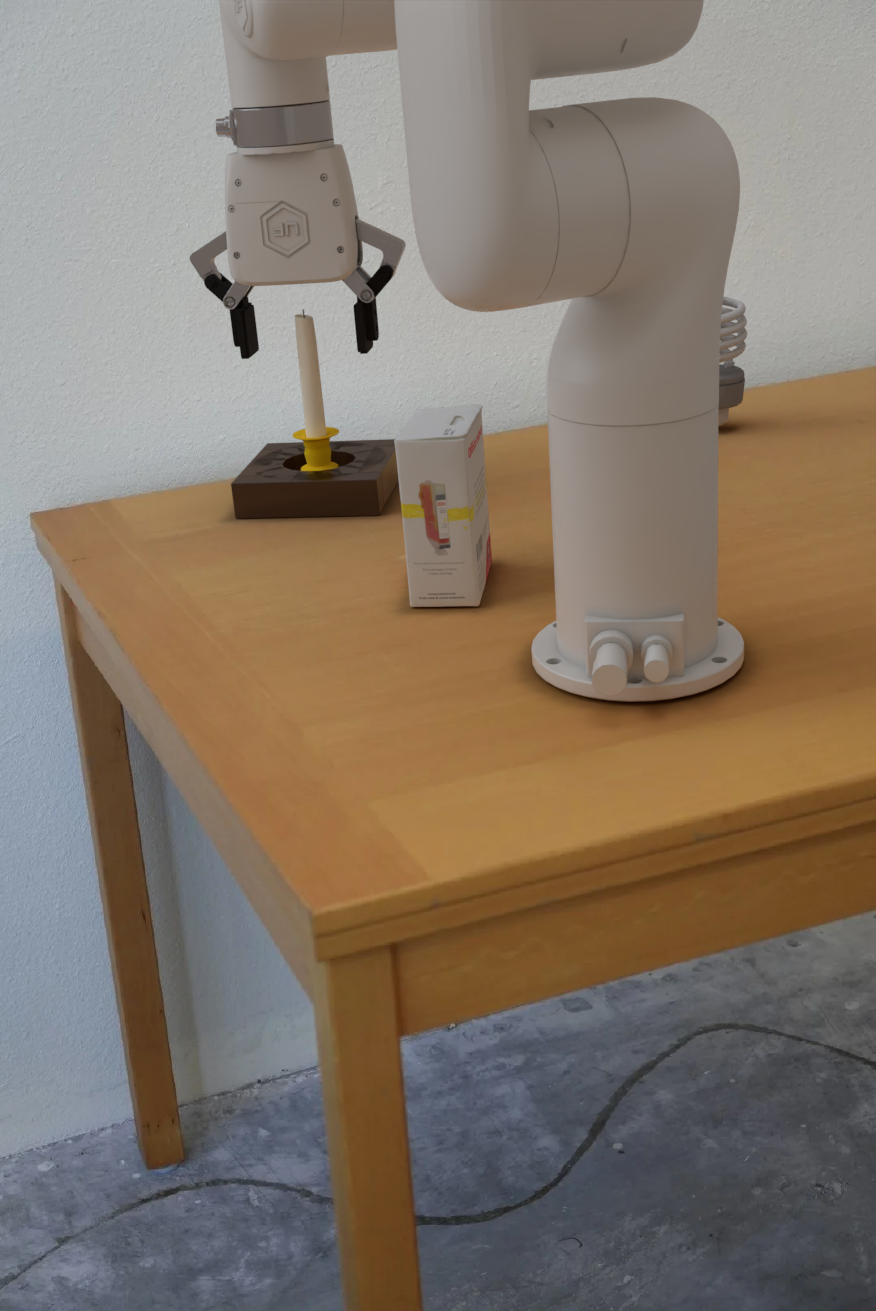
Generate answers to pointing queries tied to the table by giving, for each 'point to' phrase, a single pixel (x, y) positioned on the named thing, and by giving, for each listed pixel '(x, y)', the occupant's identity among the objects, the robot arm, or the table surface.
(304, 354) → the candle
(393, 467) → the holder
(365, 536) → the table surface
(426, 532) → the ink box
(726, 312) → the light bulb
